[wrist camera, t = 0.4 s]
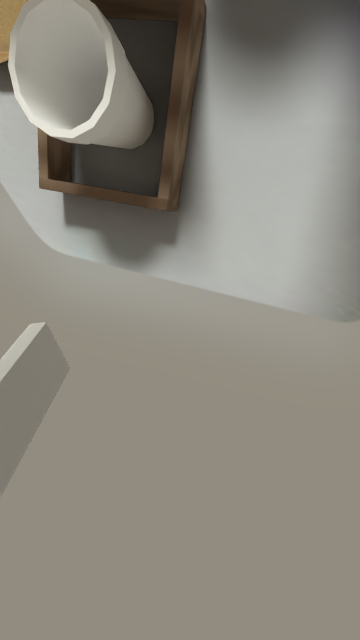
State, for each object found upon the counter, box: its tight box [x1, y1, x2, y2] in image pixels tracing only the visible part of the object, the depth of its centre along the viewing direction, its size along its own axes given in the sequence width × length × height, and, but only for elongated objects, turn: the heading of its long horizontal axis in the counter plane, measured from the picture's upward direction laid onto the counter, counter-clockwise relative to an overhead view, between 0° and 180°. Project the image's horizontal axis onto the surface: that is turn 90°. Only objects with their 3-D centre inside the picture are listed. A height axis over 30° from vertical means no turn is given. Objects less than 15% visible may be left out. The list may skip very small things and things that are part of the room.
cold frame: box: [38, 0, 206, 211], centre depth 21 cm, size 25×16×27 cm, turn 171°
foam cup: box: [8, 0, 155, 149], centre depth 28 cm, size 10×9×13 cm
